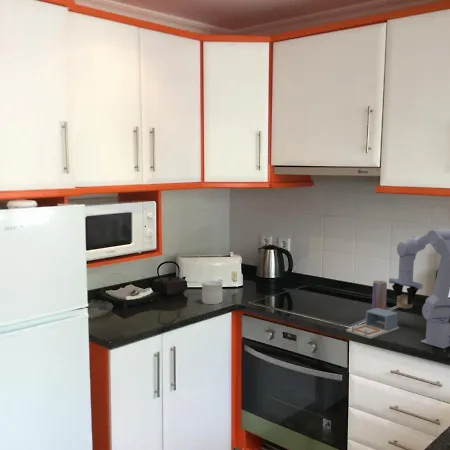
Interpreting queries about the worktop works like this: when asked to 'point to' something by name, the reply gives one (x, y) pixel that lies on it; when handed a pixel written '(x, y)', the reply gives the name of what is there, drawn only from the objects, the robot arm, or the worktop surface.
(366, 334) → the base plate
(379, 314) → the housing
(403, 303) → the birch block
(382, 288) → the beverage can
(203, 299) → the cup
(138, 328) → the worktop surface
